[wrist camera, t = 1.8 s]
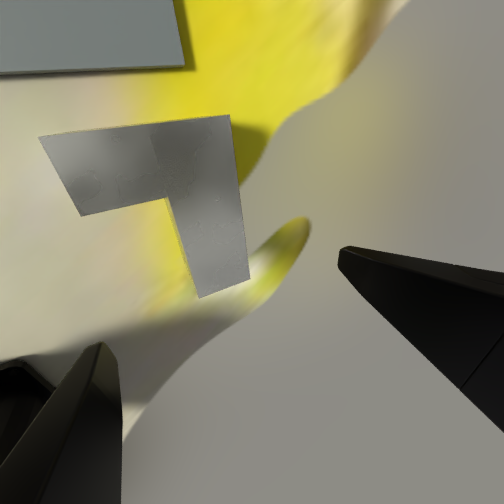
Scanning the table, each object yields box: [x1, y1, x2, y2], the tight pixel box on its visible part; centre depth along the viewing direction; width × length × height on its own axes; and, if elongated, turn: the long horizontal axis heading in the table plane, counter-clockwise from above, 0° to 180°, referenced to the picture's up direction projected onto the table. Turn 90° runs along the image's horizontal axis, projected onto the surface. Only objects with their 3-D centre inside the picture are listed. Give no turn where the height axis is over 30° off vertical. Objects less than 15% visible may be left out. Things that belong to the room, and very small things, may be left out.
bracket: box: [38, 115, 250, 298], centre depth 11 cm, size 8×6×4 cm
